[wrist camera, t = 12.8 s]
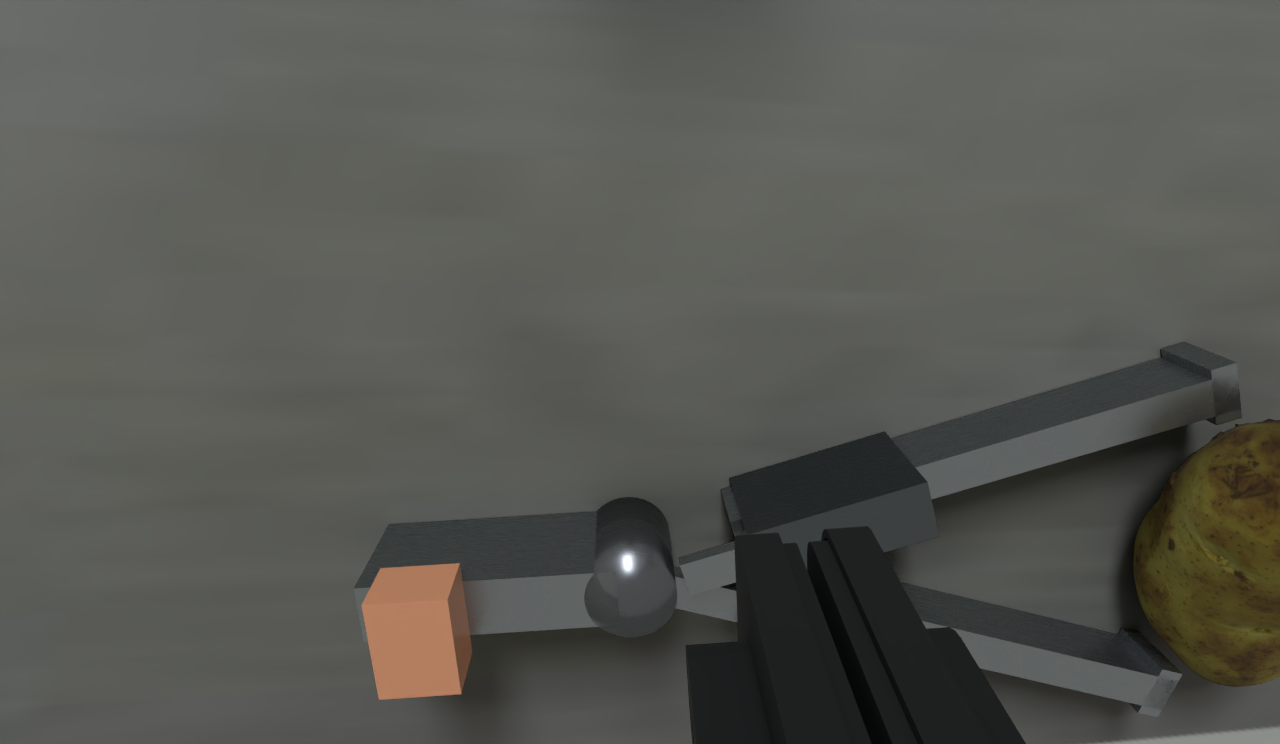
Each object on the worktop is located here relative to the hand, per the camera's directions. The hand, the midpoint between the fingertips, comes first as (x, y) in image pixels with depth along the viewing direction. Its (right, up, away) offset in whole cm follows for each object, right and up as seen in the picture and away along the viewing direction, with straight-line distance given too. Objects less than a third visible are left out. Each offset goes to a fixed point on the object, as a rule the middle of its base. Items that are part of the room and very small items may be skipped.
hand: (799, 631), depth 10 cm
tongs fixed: (+4, -7, +27) cm, 28 cm away
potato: (+23, -3, +26) cm, 35 cm away
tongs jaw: (+10, 0, +25) cm, 27 cm away
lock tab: (-10, -6, +21) cm, 24 cm away
